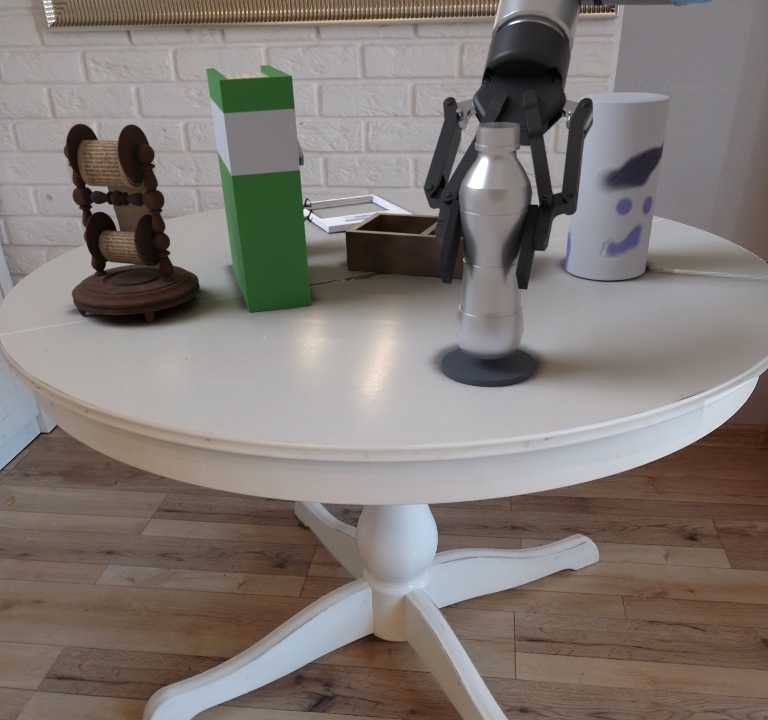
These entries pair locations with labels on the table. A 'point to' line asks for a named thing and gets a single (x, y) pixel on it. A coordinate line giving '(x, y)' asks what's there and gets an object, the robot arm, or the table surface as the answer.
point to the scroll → (124, 227)
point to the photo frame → (350, 220)
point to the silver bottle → (492, 244)
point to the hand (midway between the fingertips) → (482, 278)
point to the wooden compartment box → (397, 245)
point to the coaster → (488, 368)
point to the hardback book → (261, 185)
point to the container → (617, 186)
